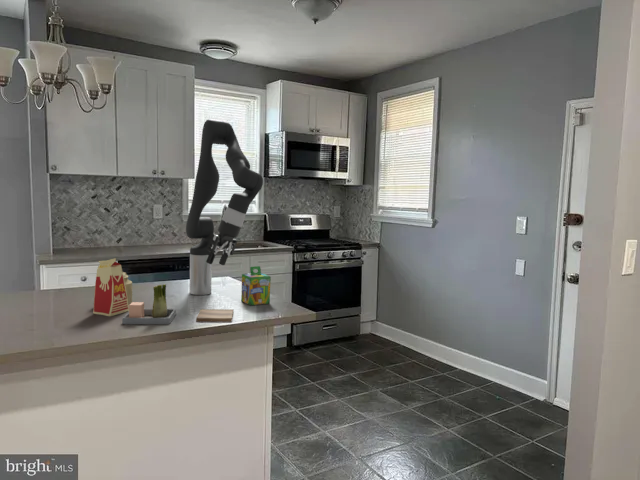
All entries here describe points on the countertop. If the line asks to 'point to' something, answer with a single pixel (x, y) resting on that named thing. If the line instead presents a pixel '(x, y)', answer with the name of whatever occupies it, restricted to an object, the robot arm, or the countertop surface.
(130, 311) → the pink rectangular block
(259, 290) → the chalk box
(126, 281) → the sugar bowl
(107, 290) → the milk carton
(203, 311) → the board
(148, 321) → the grey tray
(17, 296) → the countertop surface
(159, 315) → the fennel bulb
